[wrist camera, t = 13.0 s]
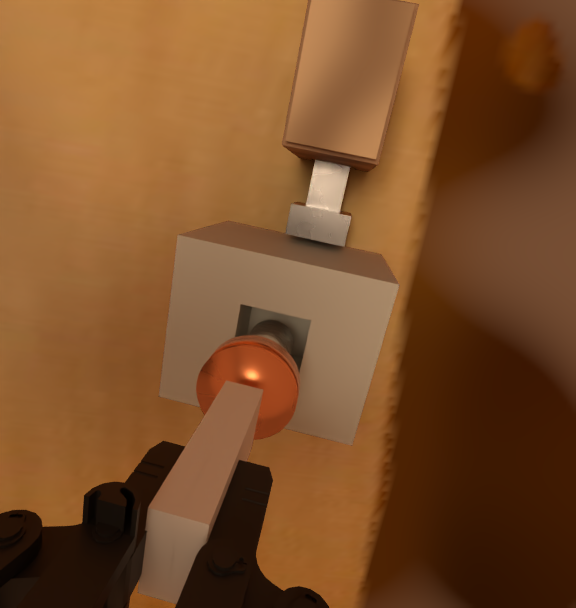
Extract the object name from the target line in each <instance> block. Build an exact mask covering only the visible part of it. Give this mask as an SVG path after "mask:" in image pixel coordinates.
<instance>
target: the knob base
mask: <svg viewBox="0 0 576 608" xmlns="http://www.w3.org/2000/svg"><path fill="white" fill-rule="evenodd" d="M398 288H399V283H398V281H397V280H396V278H395V276H394V275H393V273H392V271H391V270H390V268H389V266H388V265H387V263H386V261H385V260H384V258H383V256H382V255H381V254H377V253H372V252H367V251H363V250H358V249H354V248H349V247H345V246H344V247H343V246H339V245H334V244H329V243H325V242H320V241H316V240H311V239H307V238H302V237H298V236H293V235H289V234H285V233H281V232H277V231H272V230H268V229H263V228H259V227H254V226H250V225H245V224H240V223H236V222H231V221H226V222H222V223H219V224H215V225H211V226H208V227H204V228H201V229H197V230H193V231H190V232H186V233H183V234H179V235H178V237H177V246H176V254H175V263H174V271H173V280H172V288H171V297H170V305H169V314H168V322H167V331H166V339H165V348H164V356H163V365H162V373H161V382H160V390H159V397H162V398H166V399H170V400H174V401H178V402H182V403H186V404H190V405H194V406H198V407H200V405H199V402H198V399H197V393H196V384H197V379H198V375H199V373H200V370H201V369H202V367H203V365H204V364H205V363H206V362H207V360H208V359H209V358H210V357H211V355H212V354H213V353H214V351H215V350H216V349H217V348H218V347H219V346H220V345H221V344H223V343H224V342H225V341H227V340H229V339H232V338H234V337H238V336H242V335H249V333H250V331H251V330H252V328H253V327H254V326H255V325H256V324H257V323H259V322H261V321H263V320H269V319H271V320H277V321H280V322H282V323H283V324H285V325H286V326H287V327H288V328H289V330H290V331H291V333H292V336H293V348H292V351H291V354H290V355H291V356H292V358H293V359H294V361H295V363H296V365H297V367H298V370H299V374H300V391H299V396H298V400H297V405H296V409H295V412H294V415H293V417H292V419H291V420H290V421H289V423H288V424H287V425H286V426H285V427H284V428H285V429H288V430H292V431H296V432H300V433H304V434H308V435H312V436H316V437H320V438H324V439H328V440H332V441H336V442H340V443H344V444H348V445H351V446H352V444H353V441H354V438H355V434H356V431H357V427H358V424H359V421H360V417H361V414H362V410H363V407H364V404H365V400H366V397H367V393H368V390H369V387H370V383H371V380H372V376H373V373H374V370H375V366H376V363H377V359H378V356H379V353H380V349H381V346H382V342H383V339H384V336H385V332H386V329H387V325H388V322H389V319H390V315H391V312H392V308H393V305H394V302H395V298H396V295H397V291H398Z"/></svg>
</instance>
